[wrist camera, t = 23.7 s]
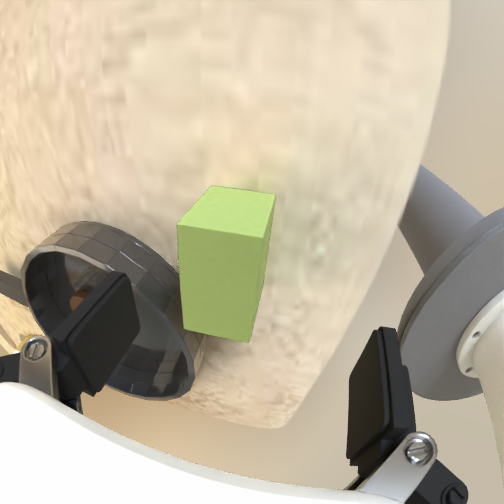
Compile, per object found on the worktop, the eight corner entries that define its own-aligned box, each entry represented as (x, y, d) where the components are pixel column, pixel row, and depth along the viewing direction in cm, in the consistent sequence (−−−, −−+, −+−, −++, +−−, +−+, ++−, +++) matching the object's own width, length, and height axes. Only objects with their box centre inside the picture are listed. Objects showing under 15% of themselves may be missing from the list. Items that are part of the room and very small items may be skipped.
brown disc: (105, 301, 25) (99, 307, 24) (106, 326, 27) (101, 332, 26) (73, 284, 24) (67, 290, 24) (76, 310, 27) (71, 315, 26)
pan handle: (40, 287, 25) (31, 295, 24) (46, 303, 26) (38, 312, 25) (-5, 267, 26) (-13, 274, 25) (1, 282, 27) (-6, 289, 26)
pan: (207, 240, 20) (187, 274, 16) (209, 389, 30) (200, 418, 27) (27, 210, 22) (-1, 230, 18) (74, 343, 32) (59, 364, 28)
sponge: (275, 194, 17) (263, 237, 13) (262, 286, 21) (249, 343, 16) (211, 185, 18) (176, 223, 13) (209, 276, 21) (183, 329, 17)
